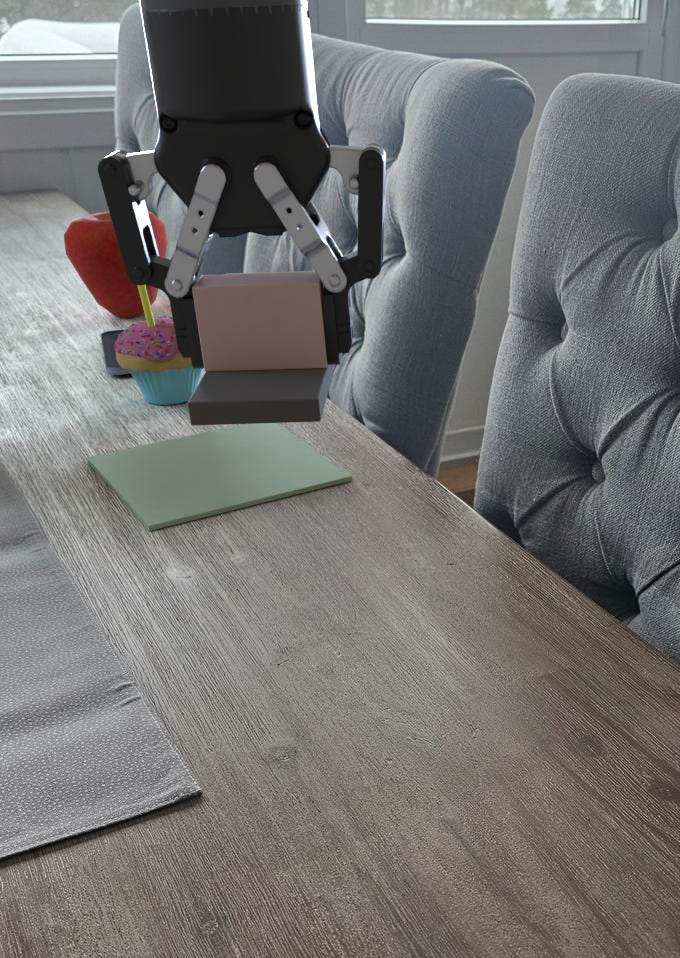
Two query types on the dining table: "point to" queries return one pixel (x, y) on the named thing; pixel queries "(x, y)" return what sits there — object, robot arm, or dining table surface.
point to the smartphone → (111, 352)
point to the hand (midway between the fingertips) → (269, 361)
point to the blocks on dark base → (260, 349)
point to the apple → (108, 262)
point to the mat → (214, 473)
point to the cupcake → (156, 358)
